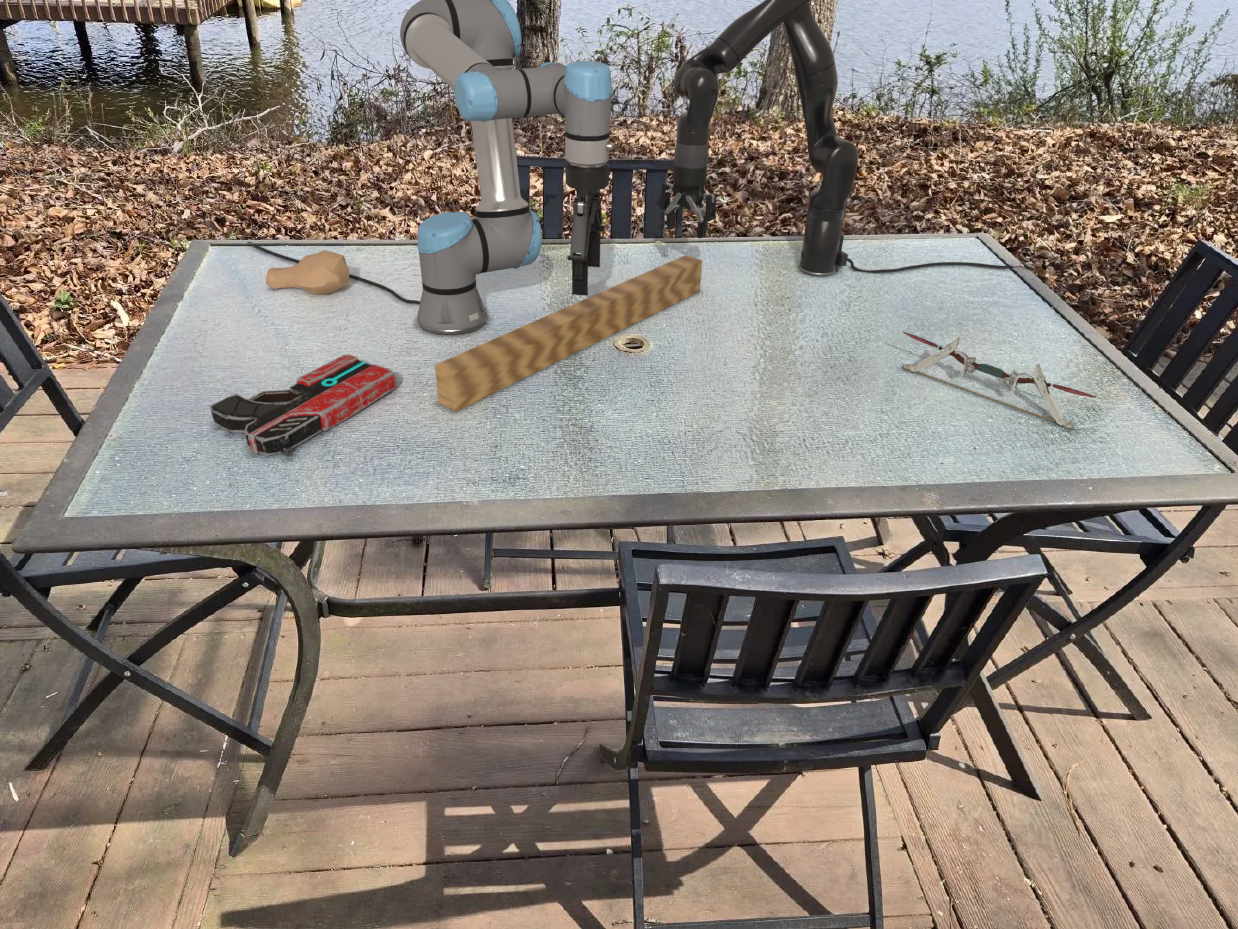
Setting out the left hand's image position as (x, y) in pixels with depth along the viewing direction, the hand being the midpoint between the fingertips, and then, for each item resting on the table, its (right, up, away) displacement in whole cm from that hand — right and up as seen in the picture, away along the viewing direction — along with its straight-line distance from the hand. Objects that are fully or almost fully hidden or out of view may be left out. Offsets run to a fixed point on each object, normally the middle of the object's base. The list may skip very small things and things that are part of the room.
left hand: (586, 279), depth 161 cm
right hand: (+22, +20, +44) cm, 53 cm away
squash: (-68, +8, +49) cm, 84 cm away
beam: (-1, -7, +30) cm, 30 cm away
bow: (+78, -21, +13) cm, 82 cm away
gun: (-52, -24, +2) cm, 57 cm away
